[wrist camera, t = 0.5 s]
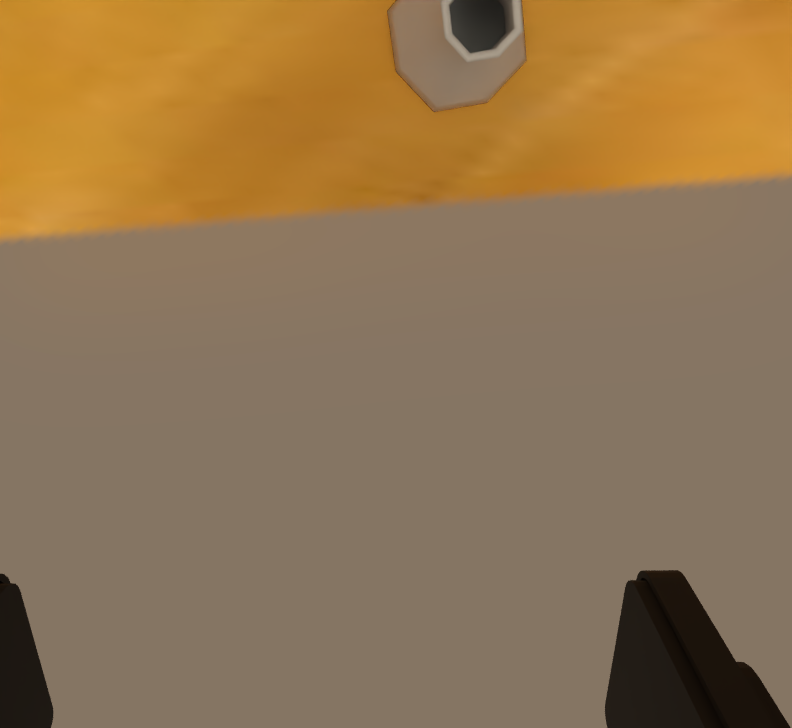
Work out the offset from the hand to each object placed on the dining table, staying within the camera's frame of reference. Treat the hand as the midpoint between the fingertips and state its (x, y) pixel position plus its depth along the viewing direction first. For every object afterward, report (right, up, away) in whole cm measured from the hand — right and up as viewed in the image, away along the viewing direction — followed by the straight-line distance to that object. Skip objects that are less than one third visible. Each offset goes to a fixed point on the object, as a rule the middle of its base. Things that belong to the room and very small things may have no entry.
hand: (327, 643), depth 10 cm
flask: (+4, +22, +24) cm, 33 cm away
